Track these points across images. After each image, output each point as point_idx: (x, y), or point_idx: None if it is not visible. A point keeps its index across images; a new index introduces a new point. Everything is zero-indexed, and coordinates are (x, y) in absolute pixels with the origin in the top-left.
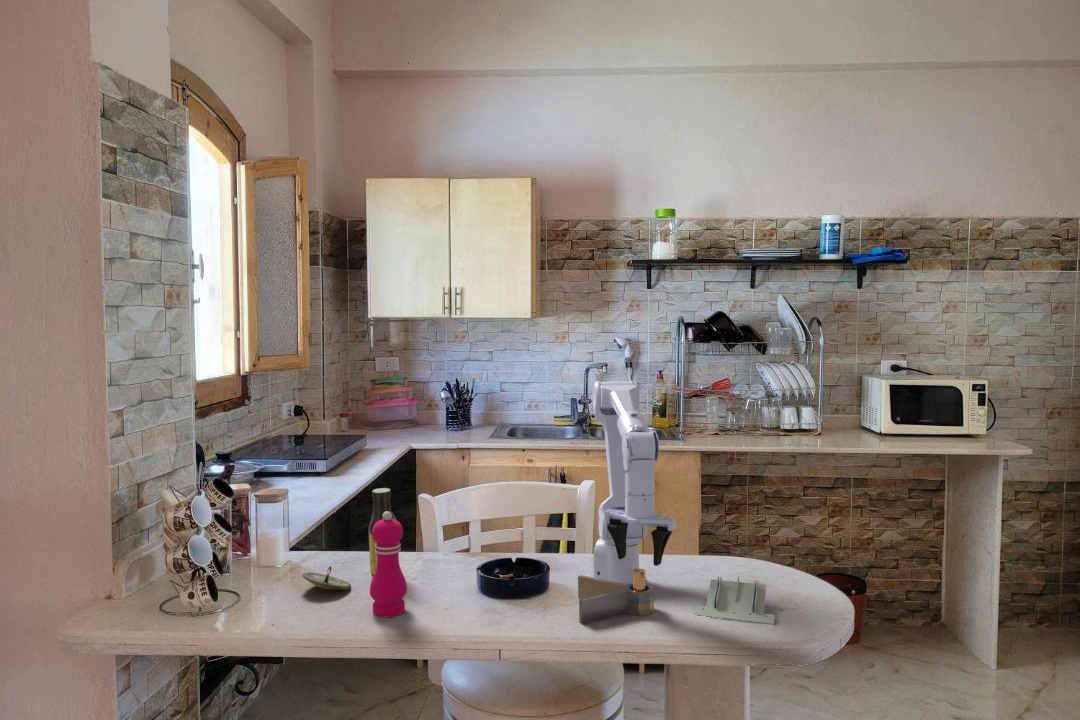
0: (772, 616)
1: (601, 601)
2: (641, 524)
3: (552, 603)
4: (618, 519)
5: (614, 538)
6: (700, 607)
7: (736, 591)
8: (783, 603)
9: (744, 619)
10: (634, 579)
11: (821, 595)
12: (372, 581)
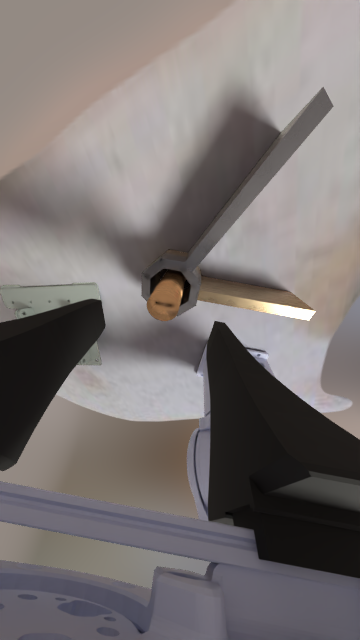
0: (6, 303)
1: (245, 183)
2: (55, 501)
3: (351, 247)
4: (286, 572)
5: (264, 376)
6: None
7: None
8: None
9: (32, 289)
10: (174, 287)
11: None
12: None
